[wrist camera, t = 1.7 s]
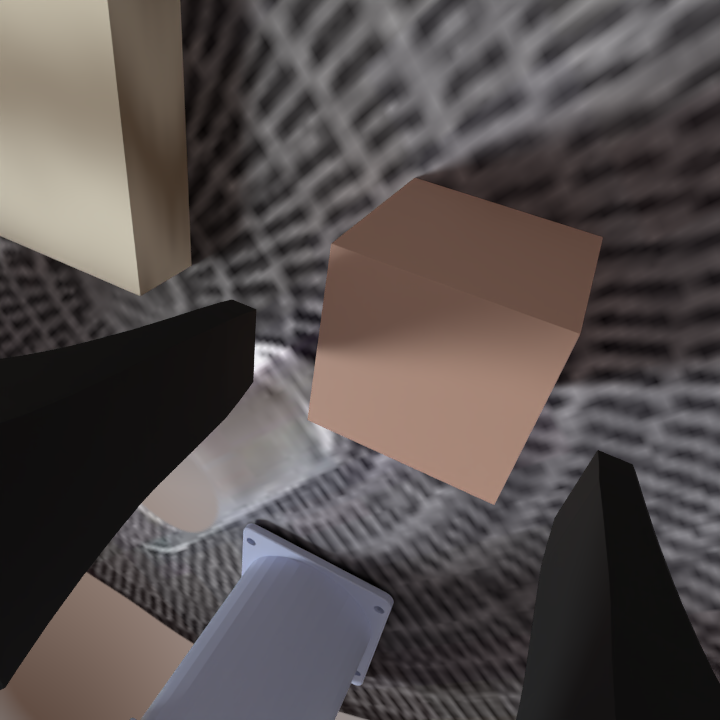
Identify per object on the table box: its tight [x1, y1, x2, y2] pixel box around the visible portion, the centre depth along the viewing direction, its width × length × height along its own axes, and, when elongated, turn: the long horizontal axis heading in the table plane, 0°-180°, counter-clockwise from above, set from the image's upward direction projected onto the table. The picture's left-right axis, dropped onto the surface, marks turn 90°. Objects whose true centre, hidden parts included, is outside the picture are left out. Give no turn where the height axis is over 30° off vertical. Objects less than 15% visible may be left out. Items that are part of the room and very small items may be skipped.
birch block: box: [0, 0, 191, 296], centre depth 17 cm, size 10×10×3 cm
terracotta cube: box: [308, 178, 603, 505], centre depth 14 cm, size 5×5×5 cm
